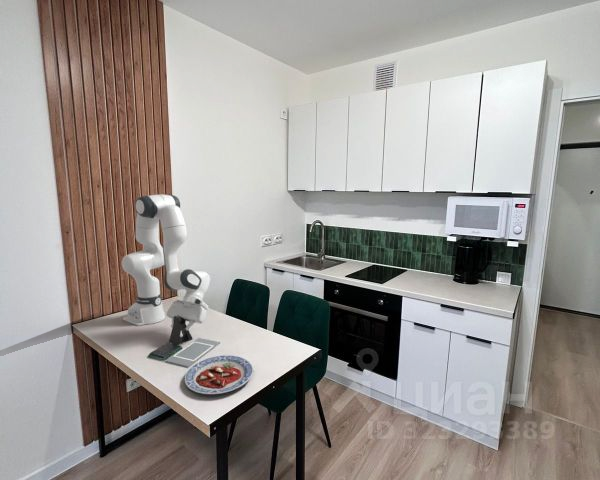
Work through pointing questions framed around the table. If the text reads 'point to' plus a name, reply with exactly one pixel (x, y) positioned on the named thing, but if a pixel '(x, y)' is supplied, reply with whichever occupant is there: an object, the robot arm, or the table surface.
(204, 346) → the marked board
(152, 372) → the table surface
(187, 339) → the phone stand
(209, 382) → the ceramic plate
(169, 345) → the ink pad
